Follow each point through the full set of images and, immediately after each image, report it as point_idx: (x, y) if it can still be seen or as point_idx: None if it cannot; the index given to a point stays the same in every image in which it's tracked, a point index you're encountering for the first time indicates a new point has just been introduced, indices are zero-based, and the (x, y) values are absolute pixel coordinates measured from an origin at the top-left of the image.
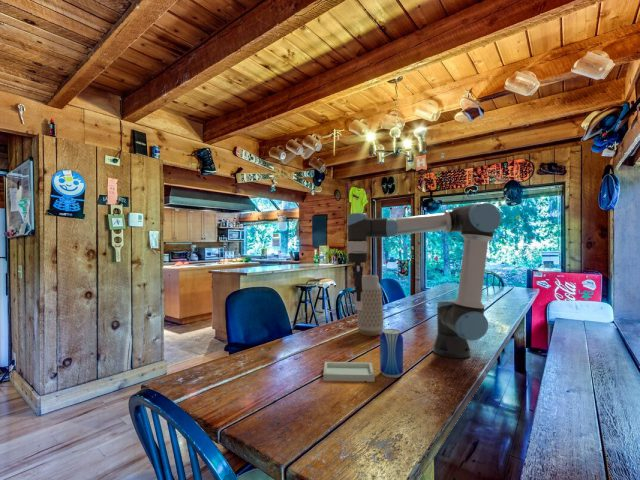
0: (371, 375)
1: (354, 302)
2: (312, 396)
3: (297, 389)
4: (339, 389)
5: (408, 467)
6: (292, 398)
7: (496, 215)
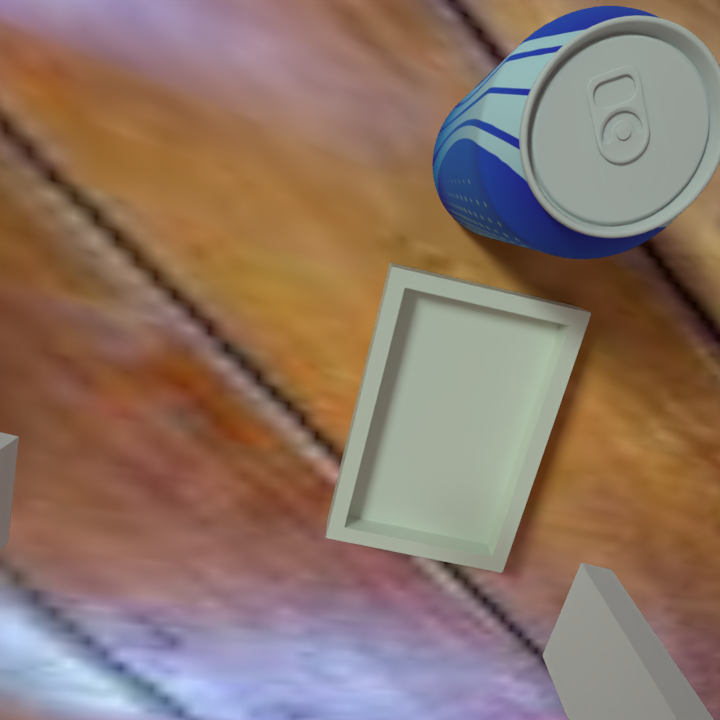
0: (585, 330)
1: (3, 545)
2: None
3: None
4: (610, 500)
5: None
6: None
7: None
